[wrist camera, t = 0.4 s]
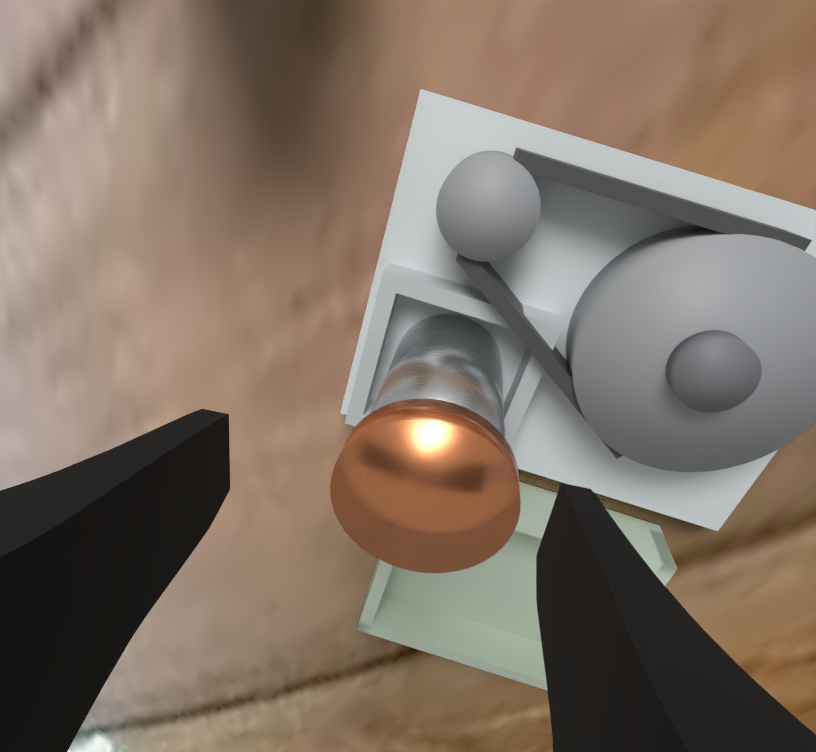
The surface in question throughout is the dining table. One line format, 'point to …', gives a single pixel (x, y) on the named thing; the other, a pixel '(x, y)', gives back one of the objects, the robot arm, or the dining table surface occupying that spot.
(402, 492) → the pin
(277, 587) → the dining table surface
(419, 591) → the tray
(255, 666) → the dining table surface
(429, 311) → the pulley board
